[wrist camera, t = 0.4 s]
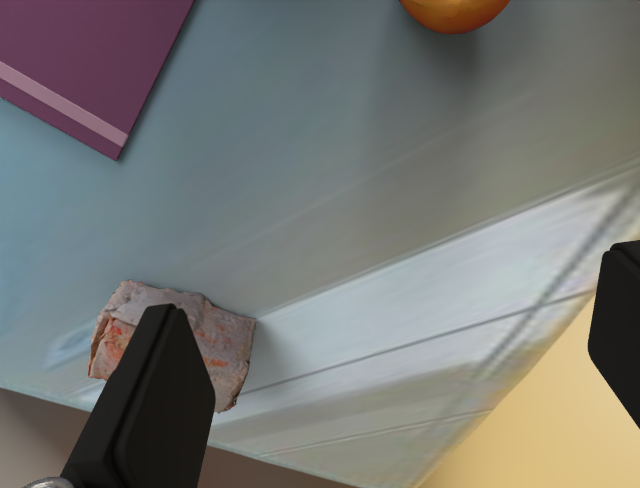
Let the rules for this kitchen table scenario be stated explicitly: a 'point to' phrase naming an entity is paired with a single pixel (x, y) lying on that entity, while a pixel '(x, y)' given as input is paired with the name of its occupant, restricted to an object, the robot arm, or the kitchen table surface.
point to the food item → (206, 323)
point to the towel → (86, 62)
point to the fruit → (453, 13)
